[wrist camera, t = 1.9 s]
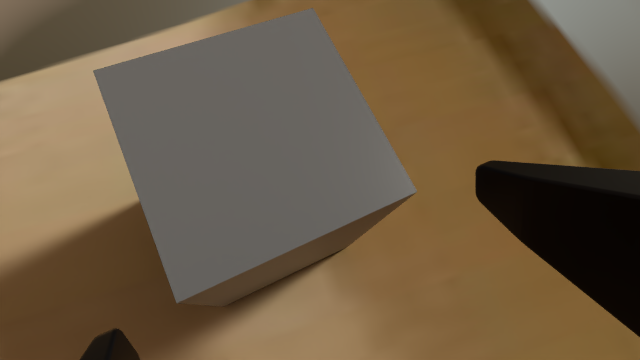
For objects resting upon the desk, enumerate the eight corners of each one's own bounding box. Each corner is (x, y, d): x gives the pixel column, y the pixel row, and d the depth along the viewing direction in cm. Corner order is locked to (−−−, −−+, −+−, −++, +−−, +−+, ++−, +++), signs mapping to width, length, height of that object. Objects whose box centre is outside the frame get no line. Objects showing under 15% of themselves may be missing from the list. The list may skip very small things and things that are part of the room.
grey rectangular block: (347, 247, 19) (417, 191, 10) (223, 306, 17) (176, 303, 8) (293, 138, 21) (313, 8, 12) (175, 183, 19) (93, 70, 10)
